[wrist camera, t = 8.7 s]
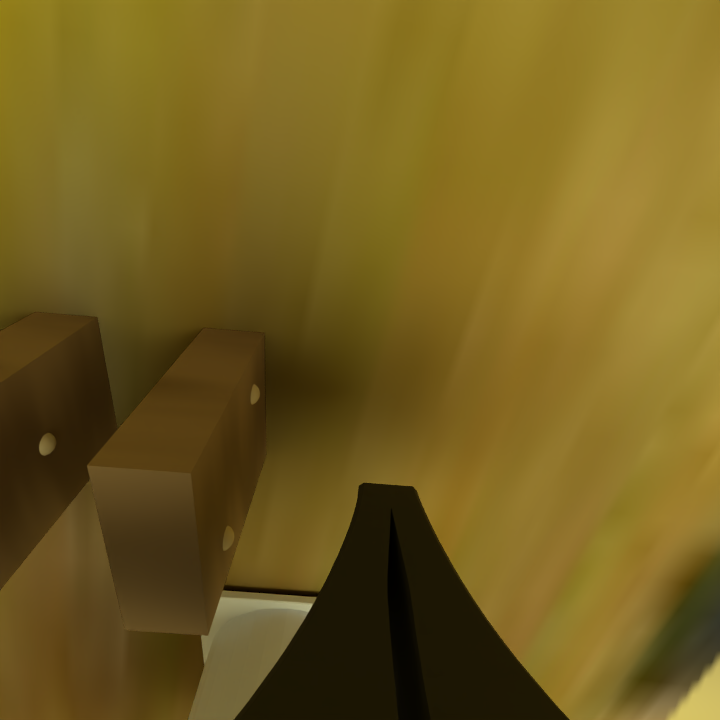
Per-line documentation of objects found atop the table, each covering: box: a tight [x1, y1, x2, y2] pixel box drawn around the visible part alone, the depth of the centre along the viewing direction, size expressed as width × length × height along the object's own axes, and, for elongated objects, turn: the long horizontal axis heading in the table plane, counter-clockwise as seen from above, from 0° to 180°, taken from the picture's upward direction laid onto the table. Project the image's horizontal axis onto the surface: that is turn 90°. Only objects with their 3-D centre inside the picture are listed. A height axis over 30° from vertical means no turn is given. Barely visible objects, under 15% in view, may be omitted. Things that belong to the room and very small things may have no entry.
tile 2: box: [0, 312, 118, 590], centre depth 13 cm, size 5×2×7 cm, turn 175°
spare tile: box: [87, 328, 266, 636], centre depth 13 cm, size 5×2×7 cm, turn 176°
